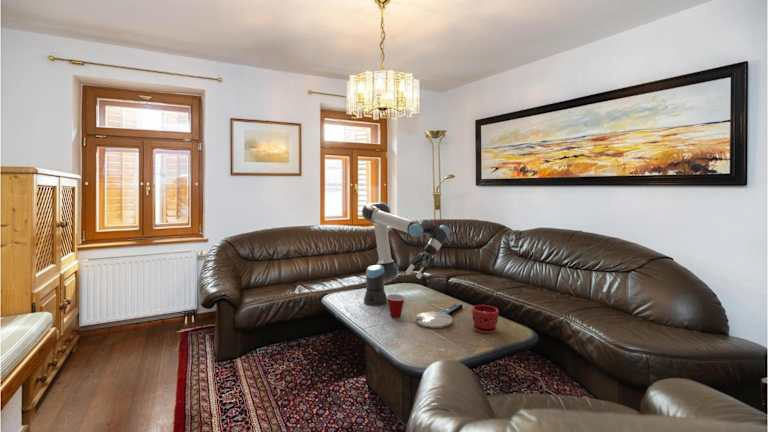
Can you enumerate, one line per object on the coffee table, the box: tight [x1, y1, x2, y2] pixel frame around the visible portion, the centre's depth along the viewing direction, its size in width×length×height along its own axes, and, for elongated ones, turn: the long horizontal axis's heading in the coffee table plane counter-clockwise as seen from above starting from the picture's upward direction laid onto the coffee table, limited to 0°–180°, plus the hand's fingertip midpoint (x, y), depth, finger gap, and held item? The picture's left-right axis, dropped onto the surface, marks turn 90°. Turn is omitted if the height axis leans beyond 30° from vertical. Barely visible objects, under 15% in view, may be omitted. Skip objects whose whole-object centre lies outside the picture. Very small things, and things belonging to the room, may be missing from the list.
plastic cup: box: [386, 293, 406, 319], centre depth 214 cm, size 11×11×12 cm
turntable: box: [415, 311, 453, 329], centre depth 205 cm, size 20×20×2 cm
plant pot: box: [471, 304, 500, 335], centre depth 192 cm, size 13×13×12 cm
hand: (412, 275), depth 218 cm, fingers open, 13 cm apart
